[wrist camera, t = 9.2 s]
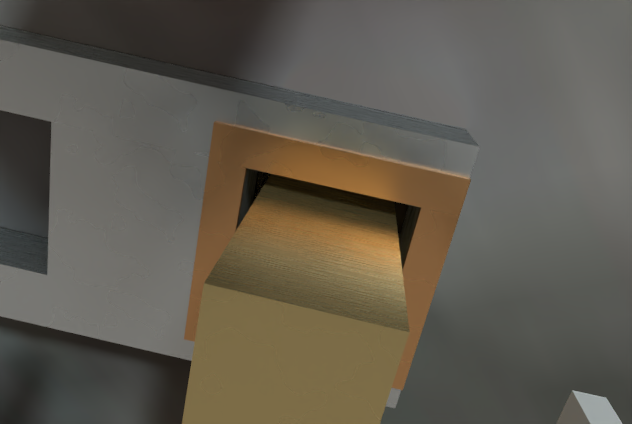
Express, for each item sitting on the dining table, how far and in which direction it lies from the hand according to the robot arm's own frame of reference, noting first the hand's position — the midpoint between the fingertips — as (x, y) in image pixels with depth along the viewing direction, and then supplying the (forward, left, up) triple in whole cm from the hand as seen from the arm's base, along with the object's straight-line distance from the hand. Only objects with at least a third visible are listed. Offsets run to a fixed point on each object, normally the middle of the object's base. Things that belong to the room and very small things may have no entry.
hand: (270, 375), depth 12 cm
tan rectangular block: (0, 0, -9) cm, 9 cm away
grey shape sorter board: (-6, 0, -9) cm, 10 cm away
